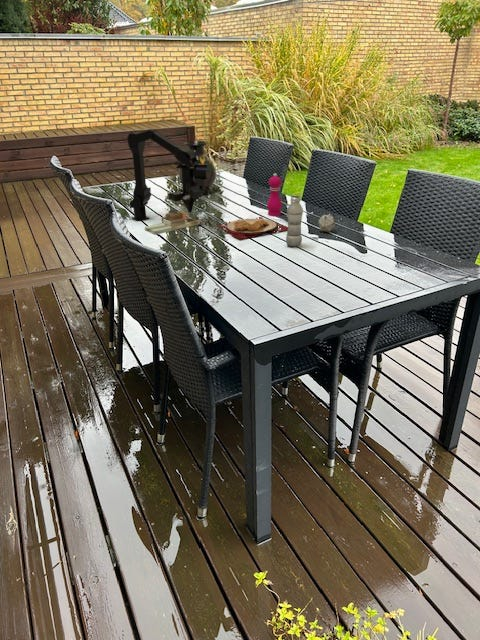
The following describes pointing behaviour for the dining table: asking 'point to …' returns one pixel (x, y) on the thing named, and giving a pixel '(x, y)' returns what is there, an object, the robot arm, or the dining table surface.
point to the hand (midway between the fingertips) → (189, 212)
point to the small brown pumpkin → (326, 223)
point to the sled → (181, 216)
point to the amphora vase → (203, 159)
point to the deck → (174, 225)
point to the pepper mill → (274, 196)
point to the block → (172, 216)
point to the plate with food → (251, 227)
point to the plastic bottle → (294, 222)
